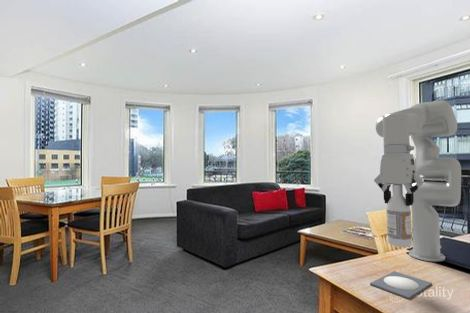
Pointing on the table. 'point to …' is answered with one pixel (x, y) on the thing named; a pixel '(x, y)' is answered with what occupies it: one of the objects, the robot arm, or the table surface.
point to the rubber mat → (401, 284)
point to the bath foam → (398, 219)
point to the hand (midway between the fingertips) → (398, 203)
